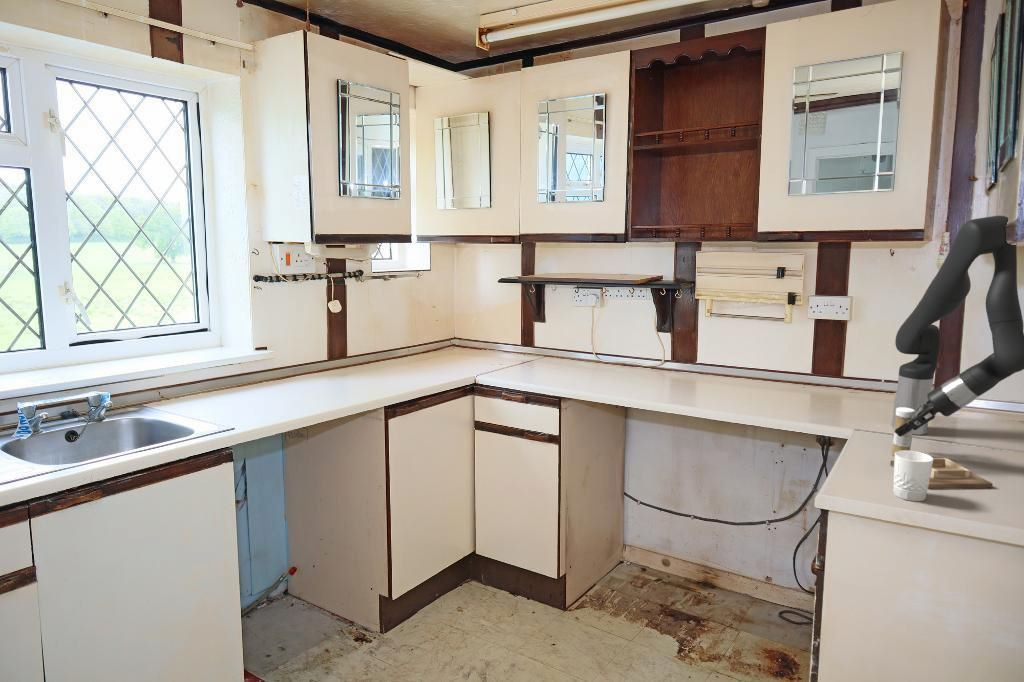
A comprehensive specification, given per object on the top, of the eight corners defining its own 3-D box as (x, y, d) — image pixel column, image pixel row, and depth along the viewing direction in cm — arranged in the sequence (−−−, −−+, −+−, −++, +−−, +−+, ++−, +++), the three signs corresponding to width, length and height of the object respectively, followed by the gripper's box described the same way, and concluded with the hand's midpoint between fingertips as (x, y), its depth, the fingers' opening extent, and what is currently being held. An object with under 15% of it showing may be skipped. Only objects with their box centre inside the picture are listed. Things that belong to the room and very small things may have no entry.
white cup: (882, 491, 166) (886, 451, 164) (910, 488, 168) (914, 449, 166) (908, 504, 158) (912, 463, 156) (936, 501, 160) (941, 460, 158)
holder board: (890, 465, 183) (891, 453, 182) (949, 464, 183) (950, 453, 183) (927, 488, 167) (929, 476, 166) (992, 488, 167) (993, 475, 167)
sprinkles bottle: (893, 451, 193) (898, 405, 190) (912, 455, 190) (917, 408, 187) (889, 455, 190) (894, 409, 187) (907, 459, 187) (913, 412, 184)
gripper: (943, 379, 187) (891, 412, 196) (940, 390, 176) (885, 425, 184) (964, 400, 185) (911, 433, 194) (962, 413, 174) (906, 447, 182)
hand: (898, 429), depth 189 cm, fingers open, 8 cm apart
